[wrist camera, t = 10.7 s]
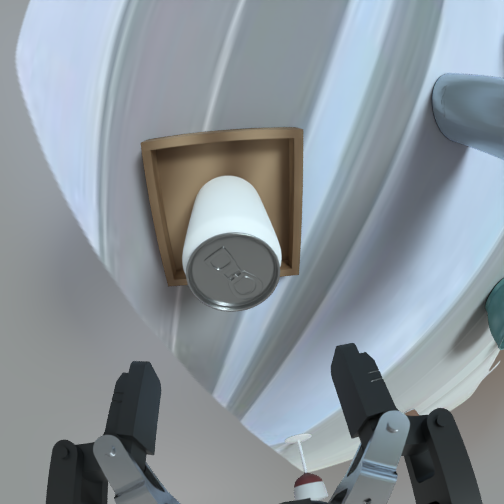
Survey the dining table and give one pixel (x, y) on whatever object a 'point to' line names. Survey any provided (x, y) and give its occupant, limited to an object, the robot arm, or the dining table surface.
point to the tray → (225, 164)
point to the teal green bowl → (496, 313)
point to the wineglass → (307, 476)
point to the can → (230, 247)
